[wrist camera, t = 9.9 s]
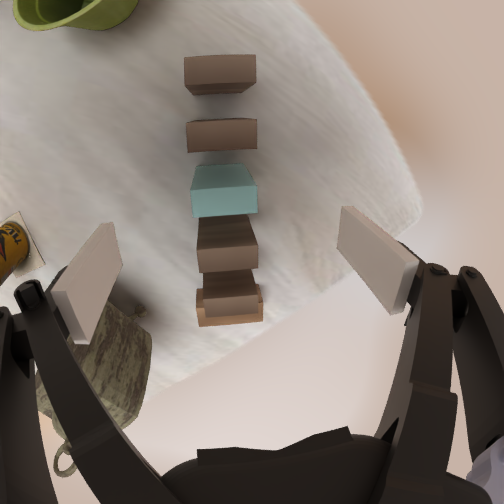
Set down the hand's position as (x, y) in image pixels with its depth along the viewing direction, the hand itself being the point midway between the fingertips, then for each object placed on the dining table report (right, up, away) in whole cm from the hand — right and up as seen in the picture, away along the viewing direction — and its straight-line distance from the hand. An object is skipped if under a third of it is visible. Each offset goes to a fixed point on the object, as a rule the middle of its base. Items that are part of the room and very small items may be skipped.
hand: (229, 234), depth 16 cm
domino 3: (-2, +3, +17) cm, 17 cm away
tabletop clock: (-20, -10, +21) cm, 30 cm away
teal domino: (-2, +7, +14) cm, 16 cm away
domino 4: (-2, -1, +19) cm, 19 cm away
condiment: (-32, 0, +14) cm, 35 cm away
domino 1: (-2, +16, +10) cm, 19 cm away
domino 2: (-2, +12, +12) cm, 17 cm away
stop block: (-2, -7, +22) cm, 23 cm away
